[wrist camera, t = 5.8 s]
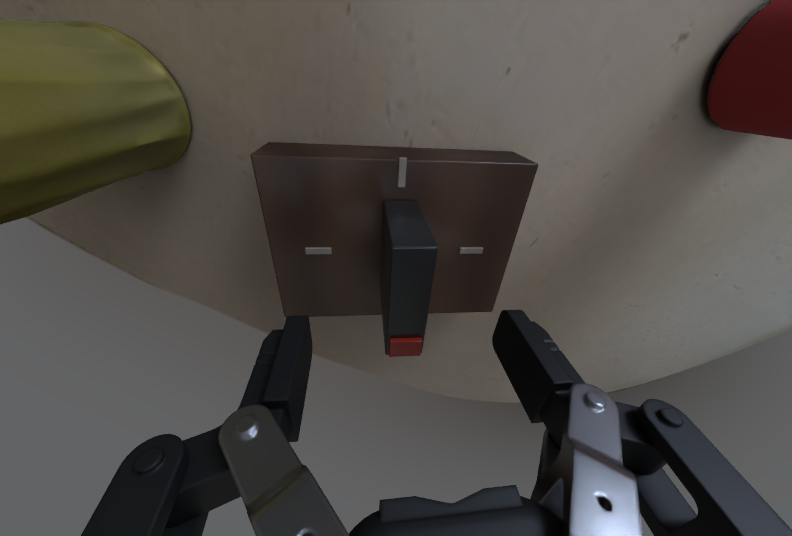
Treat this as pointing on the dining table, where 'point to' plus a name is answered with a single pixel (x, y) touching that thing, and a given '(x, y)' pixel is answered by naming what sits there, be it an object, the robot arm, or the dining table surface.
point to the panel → (363, 216)
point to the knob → (405, 276)
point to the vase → (80, 113)
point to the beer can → (756, 76)
